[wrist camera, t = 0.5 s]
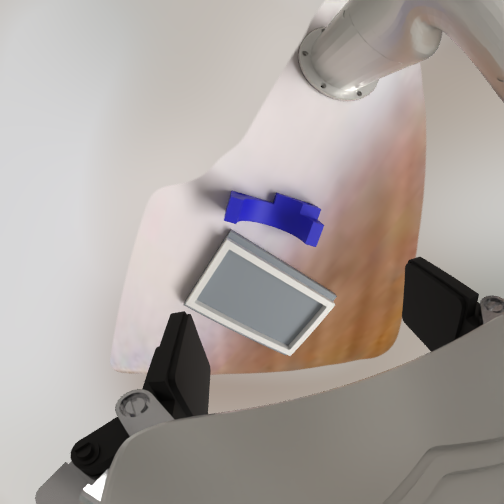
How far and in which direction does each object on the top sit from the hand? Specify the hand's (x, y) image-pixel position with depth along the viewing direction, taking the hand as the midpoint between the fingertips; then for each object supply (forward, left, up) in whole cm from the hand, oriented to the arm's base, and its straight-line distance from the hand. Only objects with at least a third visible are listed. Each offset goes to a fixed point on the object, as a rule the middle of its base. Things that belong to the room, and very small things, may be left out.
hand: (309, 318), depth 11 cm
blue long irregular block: (0, +2, -29) cm, 29 cm away
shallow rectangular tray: (+12, +9, -29) cm, 33 cm away
